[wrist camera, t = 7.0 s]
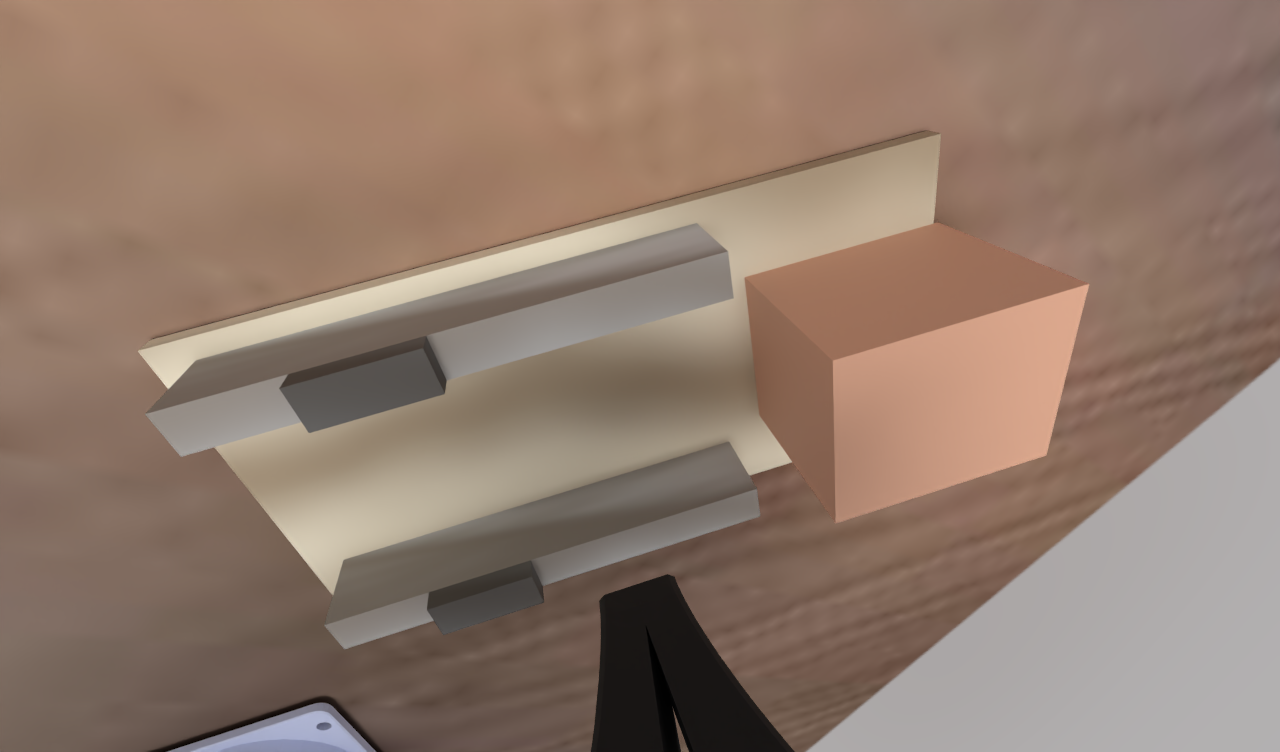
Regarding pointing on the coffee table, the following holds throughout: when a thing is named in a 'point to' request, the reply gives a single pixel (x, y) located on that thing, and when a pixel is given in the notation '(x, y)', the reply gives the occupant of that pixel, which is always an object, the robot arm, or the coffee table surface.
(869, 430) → the block
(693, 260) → the chute
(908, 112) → the coffee table surface
